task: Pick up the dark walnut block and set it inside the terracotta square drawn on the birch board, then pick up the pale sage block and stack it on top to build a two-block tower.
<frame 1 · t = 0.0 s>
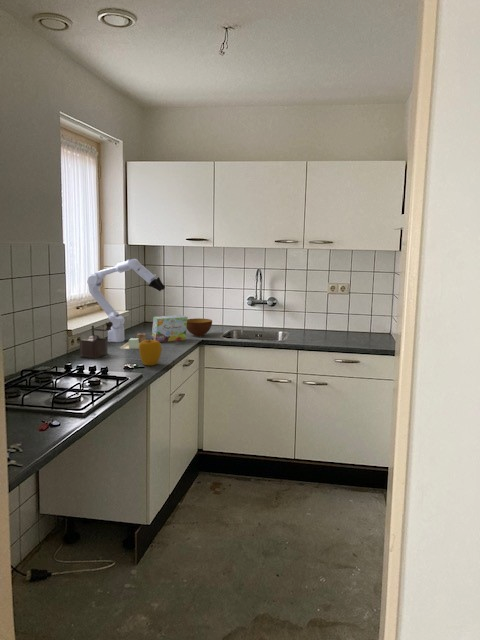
hand: (162, 289, 317), 32 cm above the countertop, tool tilted 50°, fingers open, 7 cm apart
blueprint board: (139, 345, 313), on the countertop
yellow bell pepper: (150, 364, 268), on the countertop
bowl: (198, 336, 345), on the countertop
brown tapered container: (97, 355, 288), on the countertop
snack box: (168, 340, 326), on the countertop, touching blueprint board
sage block: (134, 347, 304), point 1 cm above the countertop, touching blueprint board
walnut block: (141, 342, 319), point 1 cm above the countertop, touching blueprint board
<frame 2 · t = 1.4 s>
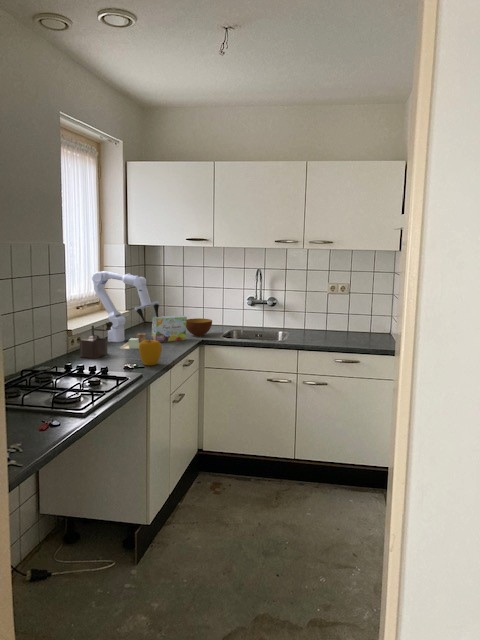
hand: (150, 319, 317), 15 cm above the countertop, tool tilted 15°, fingers open, 7 cm apart
snack box: (168, 341, 326), on the countertop, touching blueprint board, gripper
everything else where it was.
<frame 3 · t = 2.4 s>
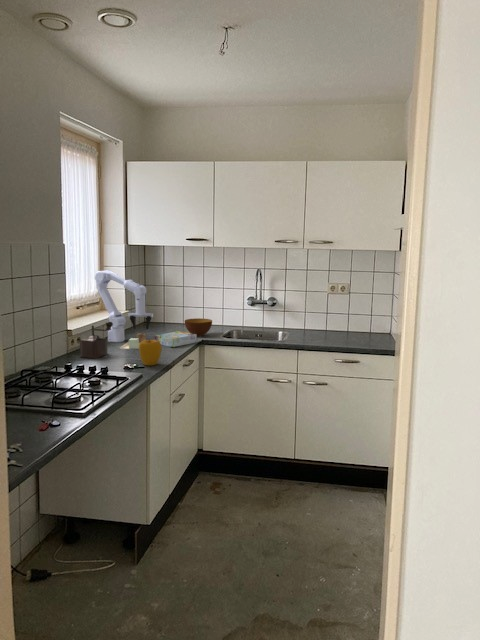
hand: (141, 328, 318), 9 cm above the countertop, tool pointing down, fingers open, 7 cm apart
snack box: (166, 337, 324), point 3 cm above the countertop, touching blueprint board
everything else where it was.
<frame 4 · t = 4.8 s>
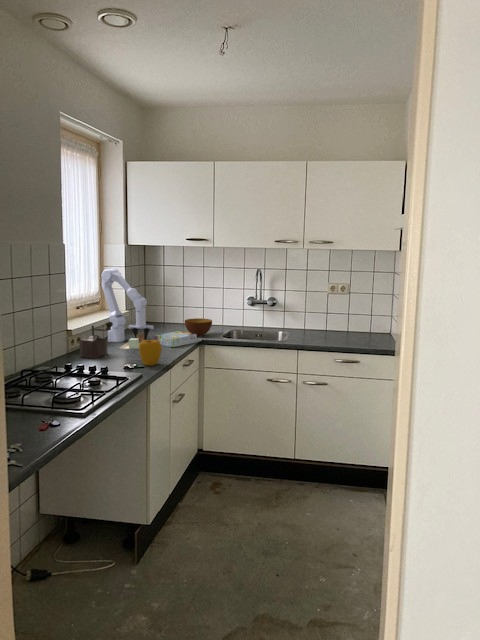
hand: (141, 340, 319), 2 cm above the countertop, tool pointing down, fingers closed on walnut block, 4 cm apart
walnut block: (141, 342, 319), point 1 cm above the countertop, touching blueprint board, gripper
everything else where it was.
when the fingers open (3 cm above the countertop, at t = 8.7 s): walnut block drops 1 cm, resting on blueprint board.
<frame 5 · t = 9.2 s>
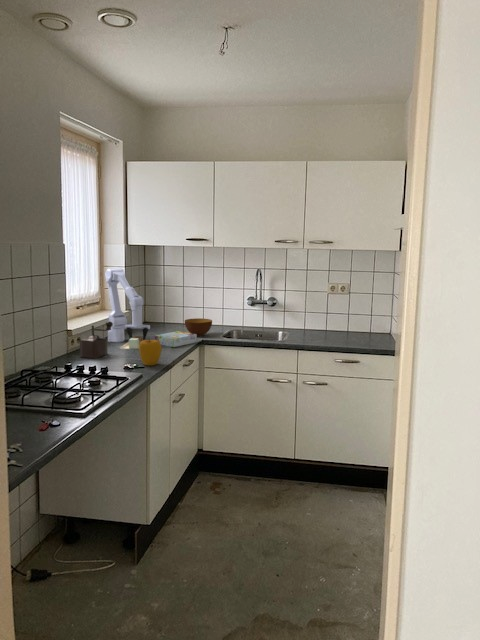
hand: (137, 340, 311), 3 cm above the countertop, tool pointing down, fingers open, 7 cm apart
walnut block: (137, 344, 312), point 1 cm above the countertop, touching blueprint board
everything else where it was.
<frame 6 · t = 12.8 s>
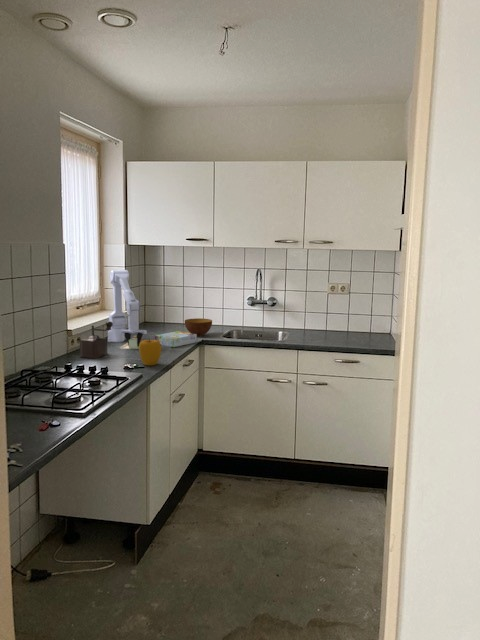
hand: (134, 346, 303), 2 cm above the countertop, tool pointing down, fingers closed on sage block, 4 cm apart
sage block: (134, 347, 304), point 1 cm above the countertop, touching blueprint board, gripper
everything else where it was.
when the fingers open (8 cm above the countertop, at t = 16.1 s): sage block stays where it is, resting on walnut block.
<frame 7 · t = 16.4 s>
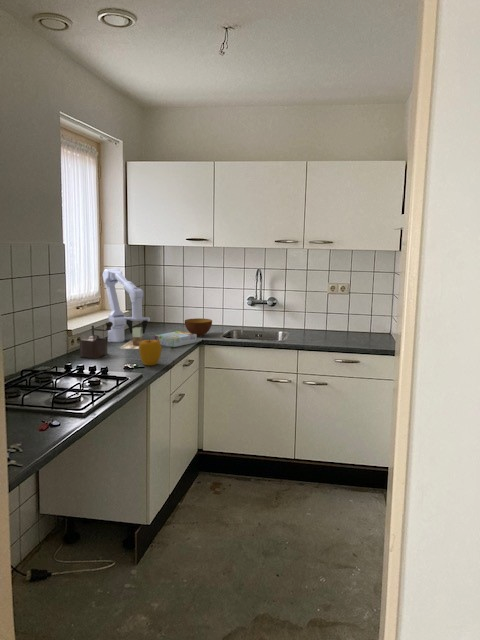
hand: (137, 333, 310), 8 cm above the countertop, tool pointing down, fingers open, 7 cm apart
sage block: (137, 336, 311), point 6 cm above the countertop, touching walnut block
walnut block: (137, 344, 312), point 1 cm above the countertop, touching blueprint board, sage block
everything else where it was.
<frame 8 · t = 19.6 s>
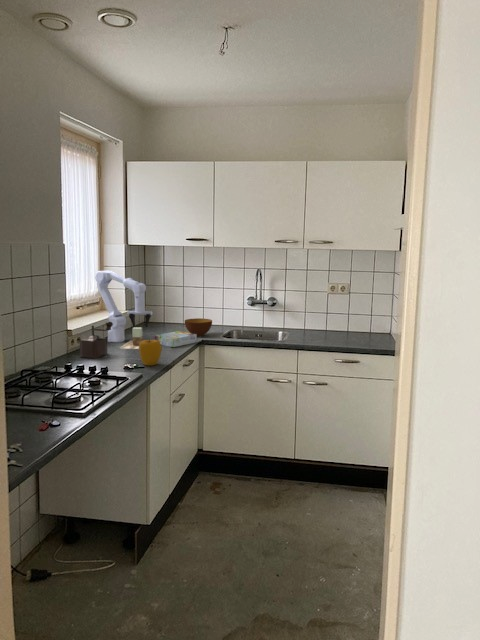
hand: (140, 326, 316), 10 cm above the countertop, tool pointing down, fingers open, 7 cm apart
nothing on the countertop moved.
at the end: walnut block 0.2 cm from the target spot, point 0.8 cm above the countertop; sage block 0.1 cm from the target spot, point 5.8 cm above the countertop; sage block tilted 0° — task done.
